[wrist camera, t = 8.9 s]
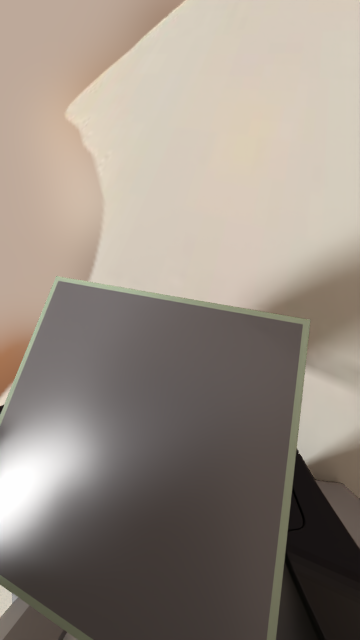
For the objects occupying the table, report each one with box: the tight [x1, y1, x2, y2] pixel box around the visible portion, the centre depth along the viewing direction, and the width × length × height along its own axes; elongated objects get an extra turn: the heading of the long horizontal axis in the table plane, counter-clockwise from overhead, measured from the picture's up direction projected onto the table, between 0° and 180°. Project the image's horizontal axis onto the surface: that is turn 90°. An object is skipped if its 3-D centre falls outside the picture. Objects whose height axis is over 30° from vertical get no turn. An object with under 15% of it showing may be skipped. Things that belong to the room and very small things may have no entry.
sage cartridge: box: [0, 276, 310, 640], centre depth 9 cm, size 5×5×12 cm
